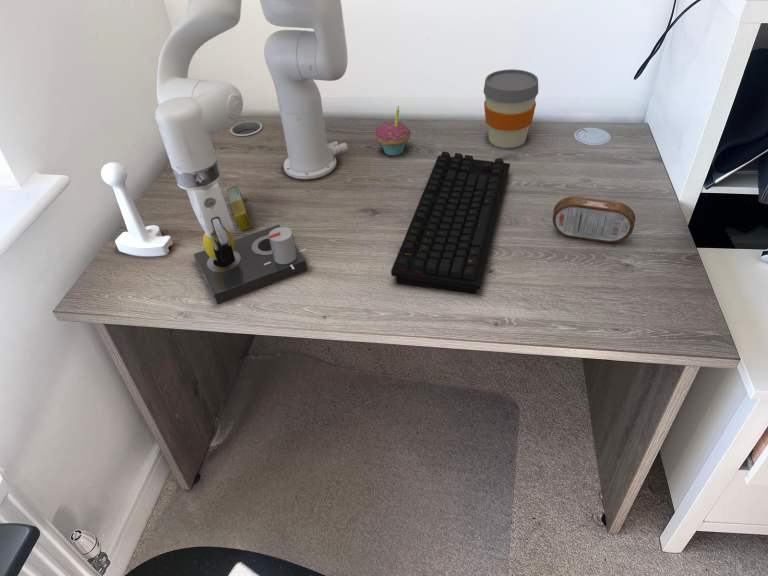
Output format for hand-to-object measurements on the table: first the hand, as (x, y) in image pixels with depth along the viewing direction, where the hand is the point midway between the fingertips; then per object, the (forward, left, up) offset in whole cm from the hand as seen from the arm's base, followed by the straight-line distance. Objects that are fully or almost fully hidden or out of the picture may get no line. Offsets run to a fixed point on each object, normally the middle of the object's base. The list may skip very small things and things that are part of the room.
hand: (221, 253), depth 117 cm
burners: (-4, 0, -2) cm, 5 cm away
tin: (-64, +30, -4) cm, 71 cm away
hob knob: (-10, +5, -2) cm, 12 cm away
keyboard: (-45, +12, -4) cm, 47 cm away
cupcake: (-49, -22, -4) cm, 55 cm away
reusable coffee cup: (-75, -11, -4) cm, 76 cm away
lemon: (0, 0, -2) cm, 2 cm away
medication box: (-8, -16, -4) cm, 19 cm away
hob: (-4, +2, -4) cm, 6 cm away
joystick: (+12, -17, -4) cm, 21 cm away
